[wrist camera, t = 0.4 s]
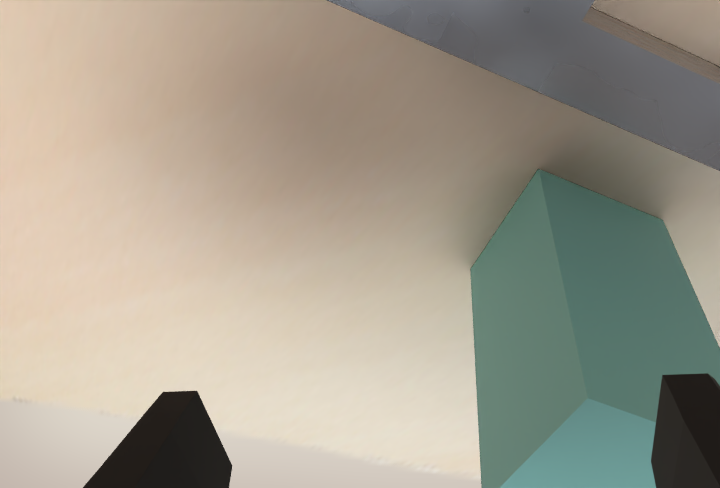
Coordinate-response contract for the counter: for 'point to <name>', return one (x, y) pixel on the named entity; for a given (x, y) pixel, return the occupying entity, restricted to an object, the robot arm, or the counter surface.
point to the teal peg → (579, 339)
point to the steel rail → (574, 62)
